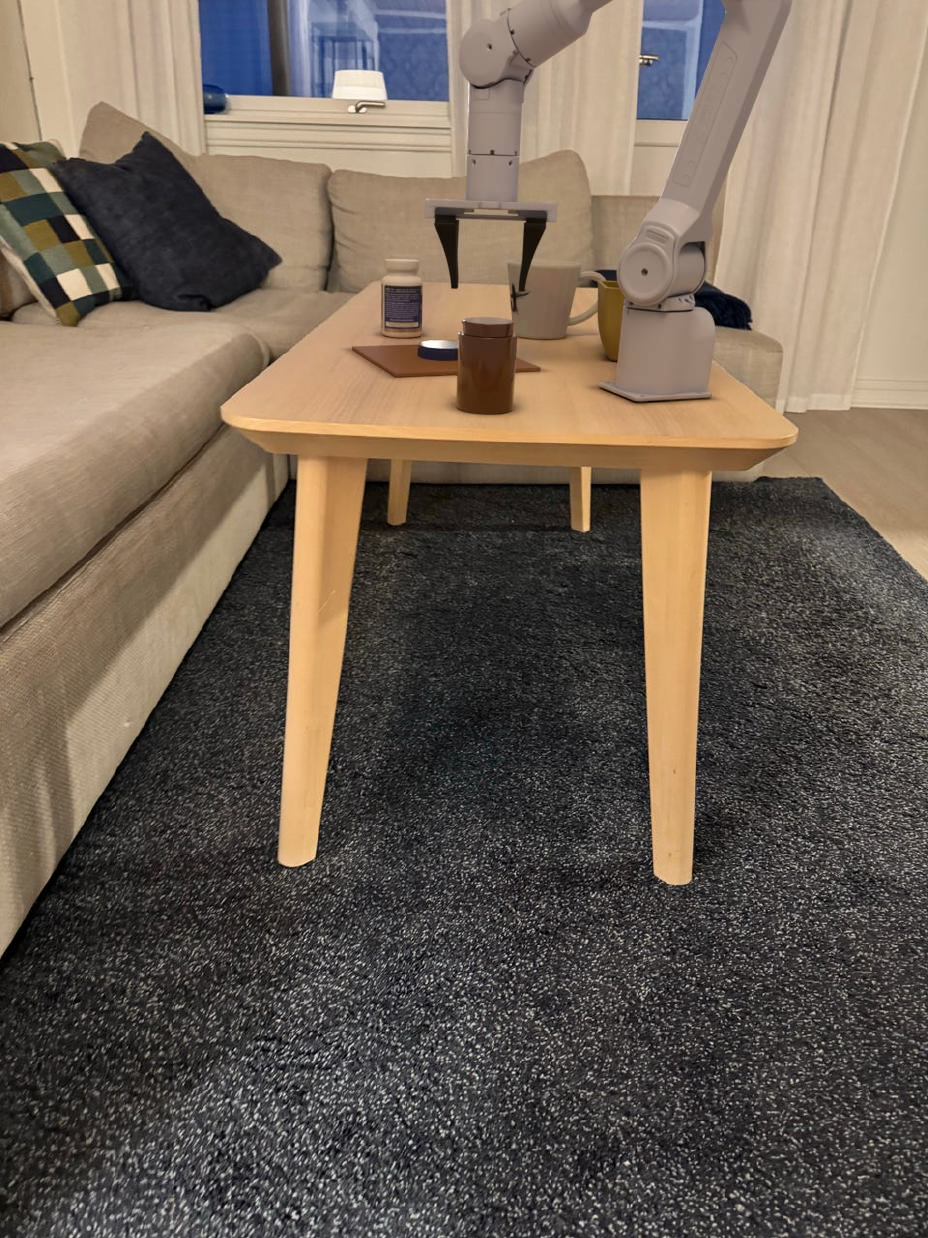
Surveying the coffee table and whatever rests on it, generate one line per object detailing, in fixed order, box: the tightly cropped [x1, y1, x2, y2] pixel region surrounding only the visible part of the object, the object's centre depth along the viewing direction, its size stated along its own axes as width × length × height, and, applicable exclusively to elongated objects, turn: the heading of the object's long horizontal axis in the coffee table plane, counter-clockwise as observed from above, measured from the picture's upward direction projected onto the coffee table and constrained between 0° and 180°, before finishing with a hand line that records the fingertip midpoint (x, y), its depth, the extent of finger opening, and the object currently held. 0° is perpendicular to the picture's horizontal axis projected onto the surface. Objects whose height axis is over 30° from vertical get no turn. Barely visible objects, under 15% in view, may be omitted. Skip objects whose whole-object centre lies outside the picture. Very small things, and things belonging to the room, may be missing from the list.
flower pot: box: [597, 280, 626, 362], centre depth 115 cm, size 9×9×9 cm
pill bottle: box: [380, 258, 424, 339], centre depth 125 cm, size 6×6×10 cm
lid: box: [418, 339, 458, 361], centre depth 111 cm, size 6×6×1 cm
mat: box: [351, 343, 542, 378], centre depth 111 cm, size 18×18×1 cm
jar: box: [455, 316, 518, 415], centre depth 87 cm, size 6×6×8 cm
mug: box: [506, 258, 607, 340], centre depth 130 cm, size 10×15×10 cm
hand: (488, 289), depth 104 cm, fingers open, 7 cm apart
